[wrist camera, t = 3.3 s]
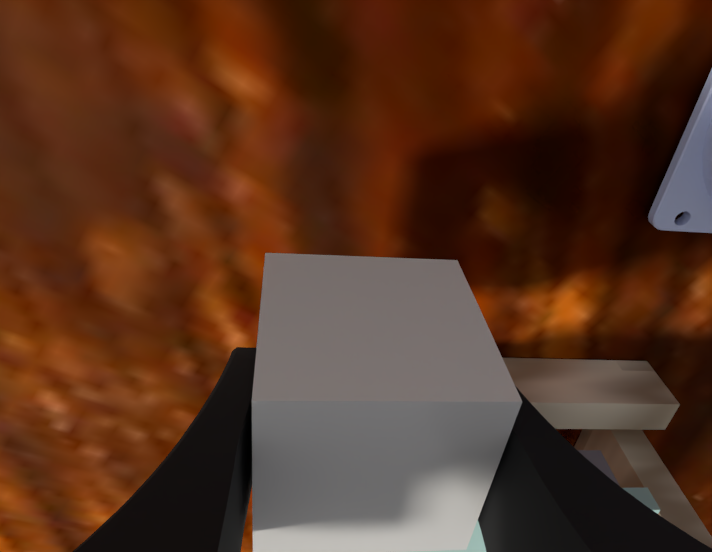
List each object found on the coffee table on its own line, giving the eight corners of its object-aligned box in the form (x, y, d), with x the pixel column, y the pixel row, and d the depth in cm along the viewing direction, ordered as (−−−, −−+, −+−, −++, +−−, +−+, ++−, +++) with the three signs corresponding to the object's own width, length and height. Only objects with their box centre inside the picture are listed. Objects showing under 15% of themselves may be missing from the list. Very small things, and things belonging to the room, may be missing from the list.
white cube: (457, 260, 14) (522, 401, 10) (425, 395, 17) (466, 549, 13) (265, 252, 14) (251, 400, 10) (263, 394, 16) (252, 556, 12)
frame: (646, 361, 22) (756, 505, 17) (595, 461, 26) (671, 607, 20) (312, 353, 21) (313, 509, 15) (304, 461, 24) (303, 620, 19)
